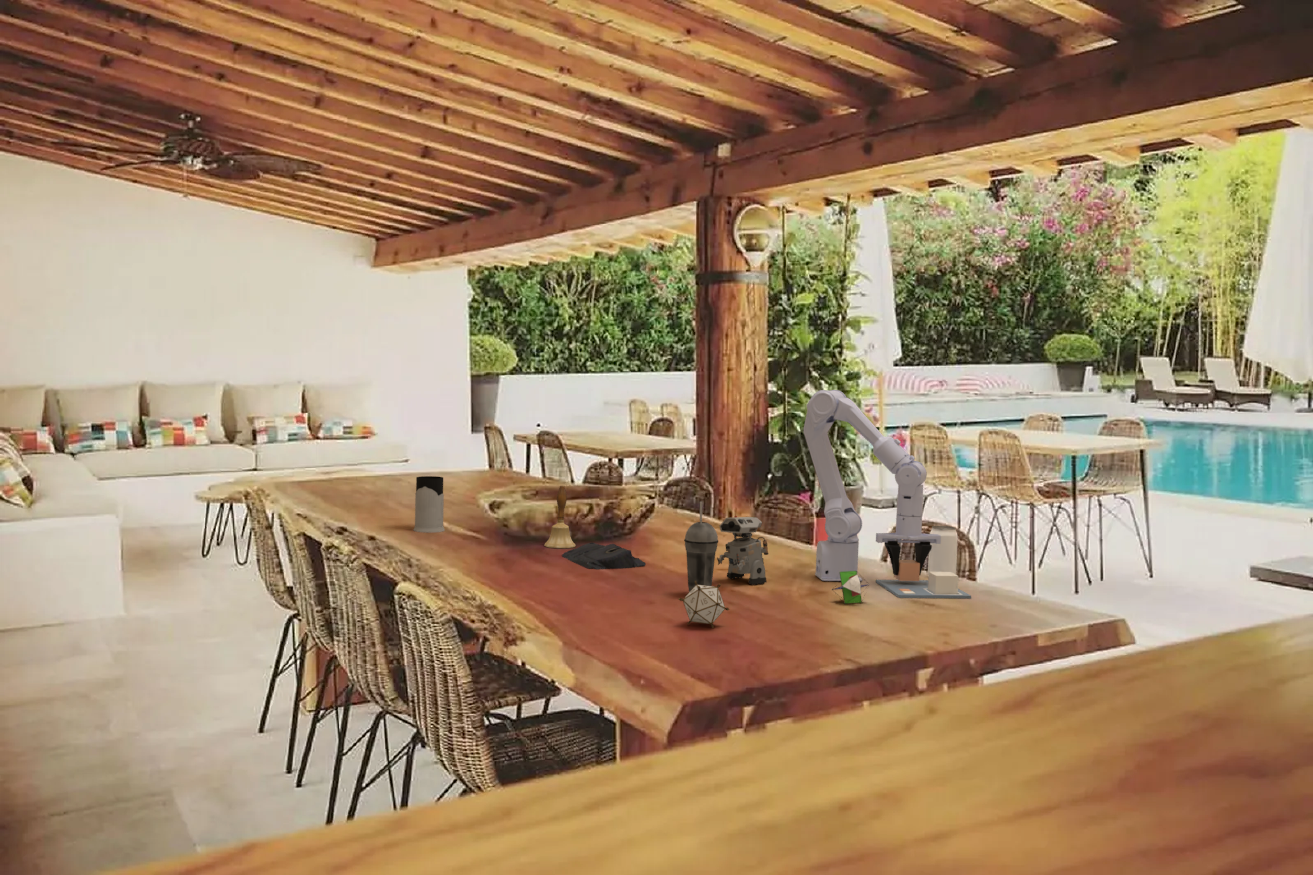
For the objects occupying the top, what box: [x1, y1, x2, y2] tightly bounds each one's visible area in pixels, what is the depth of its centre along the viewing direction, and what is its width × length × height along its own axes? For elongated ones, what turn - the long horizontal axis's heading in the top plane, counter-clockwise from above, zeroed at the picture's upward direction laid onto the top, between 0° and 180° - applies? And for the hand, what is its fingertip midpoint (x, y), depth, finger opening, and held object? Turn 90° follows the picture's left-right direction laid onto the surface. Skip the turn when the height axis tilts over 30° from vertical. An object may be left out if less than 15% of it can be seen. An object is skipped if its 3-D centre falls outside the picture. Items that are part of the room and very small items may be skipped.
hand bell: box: [543, 485, 576, 549], centre depth 310 cm, size 8×8×16 cm
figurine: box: [716, 515, 769, 586], centre depth 265 cm, size 9×12×15 cm
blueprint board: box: [875, 579, 972, 600], centre depth 262 cm, size 16×18×1 cm
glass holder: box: [413, 475, 446, 534], centre depth 334 cm, size 9×14×15 cm, turn 171°
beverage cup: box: [684, 501, 719, 593], centre depth 249 cm, size 7×7×20 cm
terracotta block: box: [893, 559, 921, 581], centre depth 266 cm, size 4×4×4 cm
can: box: [927, 525, 959, 575], centre depth 278 cm, size 6×6×12 cm
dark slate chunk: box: [561, 542, 647, 570], centre depth 288 cm, size 15×22×5 cm
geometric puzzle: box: [831, 570, 871, 605], centre depth 246 cm, size 7×7×8 cm
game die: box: [678, 581, 731, 629], centre depth 220 cm, size 9×8×10 cm
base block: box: [927, 572, 959, 594], centre depth 257 cm, size 5×5×4 cm
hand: (906, 574), depth 266 cm, fingers closed on terracotta block, 4 cm apart
